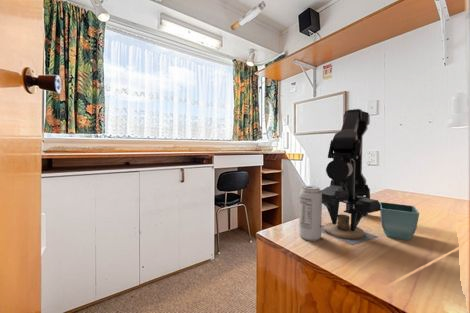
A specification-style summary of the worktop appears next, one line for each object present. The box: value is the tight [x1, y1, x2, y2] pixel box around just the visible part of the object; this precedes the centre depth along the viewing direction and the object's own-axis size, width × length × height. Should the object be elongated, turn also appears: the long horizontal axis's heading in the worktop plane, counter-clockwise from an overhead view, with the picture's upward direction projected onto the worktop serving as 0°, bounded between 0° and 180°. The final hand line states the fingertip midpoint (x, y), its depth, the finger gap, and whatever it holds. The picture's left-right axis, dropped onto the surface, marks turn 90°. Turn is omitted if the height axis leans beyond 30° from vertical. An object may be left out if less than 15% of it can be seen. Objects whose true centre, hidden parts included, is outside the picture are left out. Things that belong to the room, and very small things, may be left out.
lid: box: [323, 213, 365, 239], centre depth 67 cm, size 11×11×5 cm
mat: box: [321, 221, 379, 246], centre depth 67 cm, size 14×12×1 cm
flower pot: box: [379, 201, 420, 241], centre depth 64 cm, size 9×9×9 cm
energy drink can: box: [298, 185, 323, 242], centre depth 63 cm, size 6×6×15 cm
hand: (343, 227), depth 67 cm, fingers open, 6 cm apart
